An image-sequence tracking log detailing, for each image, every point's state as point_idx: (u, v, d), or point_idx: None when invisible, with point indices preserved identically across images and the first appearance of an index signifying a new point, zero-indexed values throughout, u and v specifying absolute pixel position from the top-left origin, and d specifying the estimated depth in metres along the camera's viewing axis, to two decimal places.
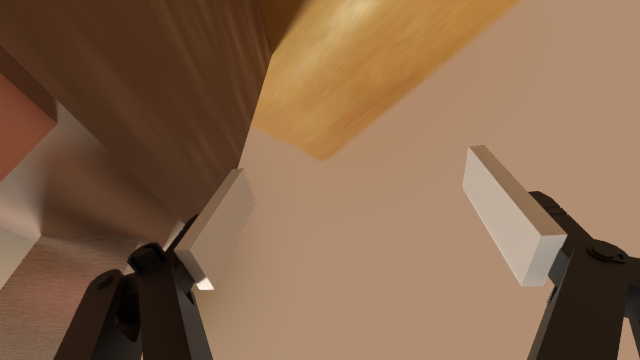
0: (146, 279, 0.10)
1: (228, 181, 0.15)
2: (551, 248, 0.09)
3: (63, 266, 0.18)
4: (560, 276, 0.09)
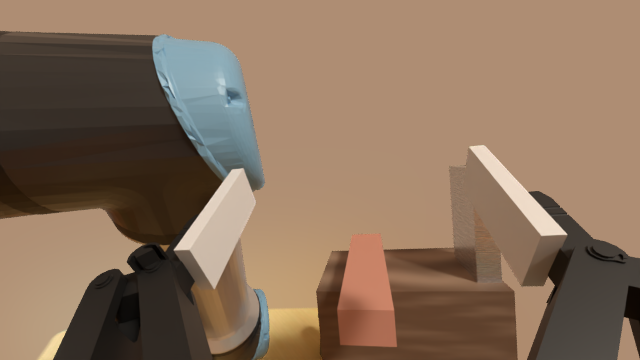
0: (146, 279, 0.10)
1: (228, 181, 0.15)
2: (551, 248, 0.09)
3: (465, 252, 0.33)
4: (560, 276, 0.09)
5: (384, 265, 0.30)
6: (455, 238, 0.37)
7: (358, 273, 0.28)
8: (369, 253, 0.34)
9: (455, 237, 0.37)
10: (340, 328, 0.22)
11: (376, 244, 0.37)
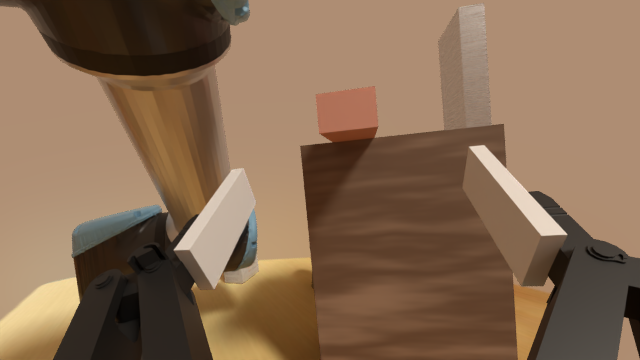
0: (146, 279, 0.10)
1: (228, 181, 0.15)
2: (551, 248, 0.09)
3: (454, 114, 0.32)
4: (560, 276, 0.09)
5: None
6: (445, 113, 0.36)
7: None
8: None
9: (445, 112, 0.36)
10: (319, 114, 0.20)
11: None
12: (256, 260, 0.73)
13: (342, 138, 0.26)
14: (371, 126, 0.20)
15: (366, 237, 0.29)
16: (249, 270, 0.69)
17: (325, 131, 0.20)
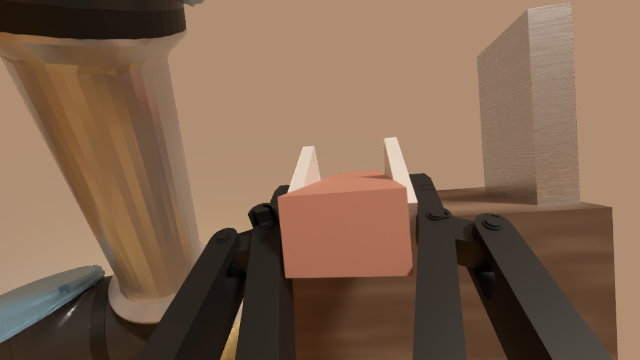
0: (258, 234, 0.11)
1: (304, 156, 0.16)
2: (410, 214, 0.11)
3: (508, 170, 0.21)
4: (418, 241, 0.11)
5: (383, 175, 0.18)
6: (487, 161, 0.25)
7: (338, 180, 0.16)
8: (359, 174, 0.22)
9: (487, 159, 0.25)
10: (285, 240, 0.10)
11: None
12: None
13: None
14: (398, 274, 0.09)
15: None
16: None
17: (298, 275, 0.10)
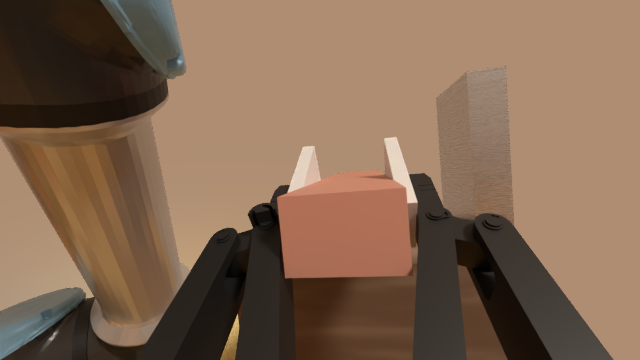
0: (258, 234, 0.11)
1: (304, 156, 0.16)
2: (410, 214, 0.11)
3: (459, 212, 0.23)
4: None
5: (383, 175, 0.18)
6: (445, 198, 0.26)
7: (337, 180, 0.16)
8: (359, 174, 0.22)
9: (445, 197, 0.26)
10: (284, 240, 0.10)
11: (370, 172, 0.25)
12: None
13: None
14: (397, 274, 0.09)
15: None
16: None
17: (298, 275, 0.10)
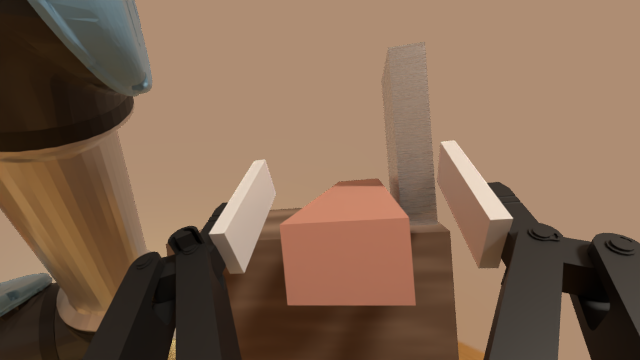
0: (183, 260, 0.11)
1: (252, 171, 0.16)
2: (500, 231, 0.10)
3: (394, 191, 0.23)
4: (509, 259, 0.10)
5: (384, 190, 0.18)
6: (390, 179, 0.26)
7: (339, 197, 0.16)
8: (360, 186, 0.22)
9: (390, 178, 0.26)
10: (287, 267, 0.10)
11: (371, 182, 0.25)
12: None
13: None
14: (400, 303, 0.09)
15: None
16: None
17: (300, 303, 0.10)
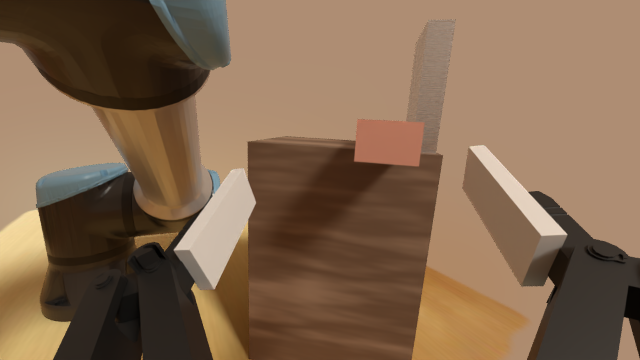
0: (146, 279, 0.10)
1: (228, 181, 0.15)
2: (551, 248, 0.09)
3: None
4: (560, 276, 0.09)
5: None
6: None
7: None
8: None
9: None
10: (357, 141, 0.19)
11: None
12: None
13: None
14: (411, 164, 0.18)
15: (299, 237, 0.31)
16: None
17: (361, 160, 0.19)
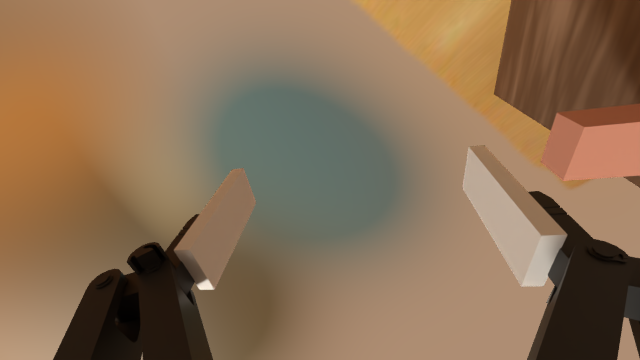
0: (146, 279, 0.10)
1: (228, 181, 0.15)
2: (551, 248, 0.09)
3: None
4: (560, 276, 0.09)
5: None
6: None
7: None
8: None
9: None
10: (568, 120, 0.20)
11: None
12: None
13: None
14: (542, 157, 0.23)
15: None
16: None
17: (555, 119, 0.21)
